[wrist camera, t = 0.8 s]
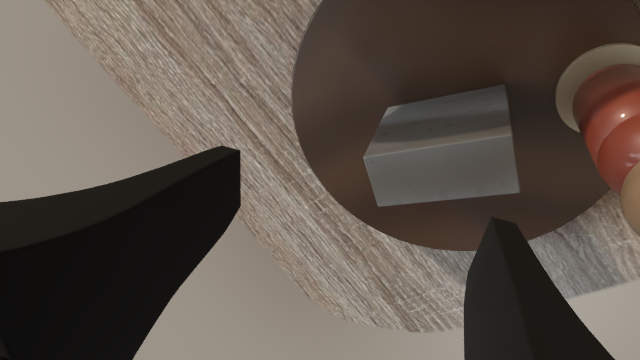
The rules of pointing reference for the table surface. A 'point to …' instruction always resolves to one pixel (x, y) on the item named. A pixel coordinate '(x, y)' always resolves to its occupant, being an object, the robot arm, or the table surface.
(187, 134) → the table surface
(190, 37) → the table surface
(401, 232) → the disc
